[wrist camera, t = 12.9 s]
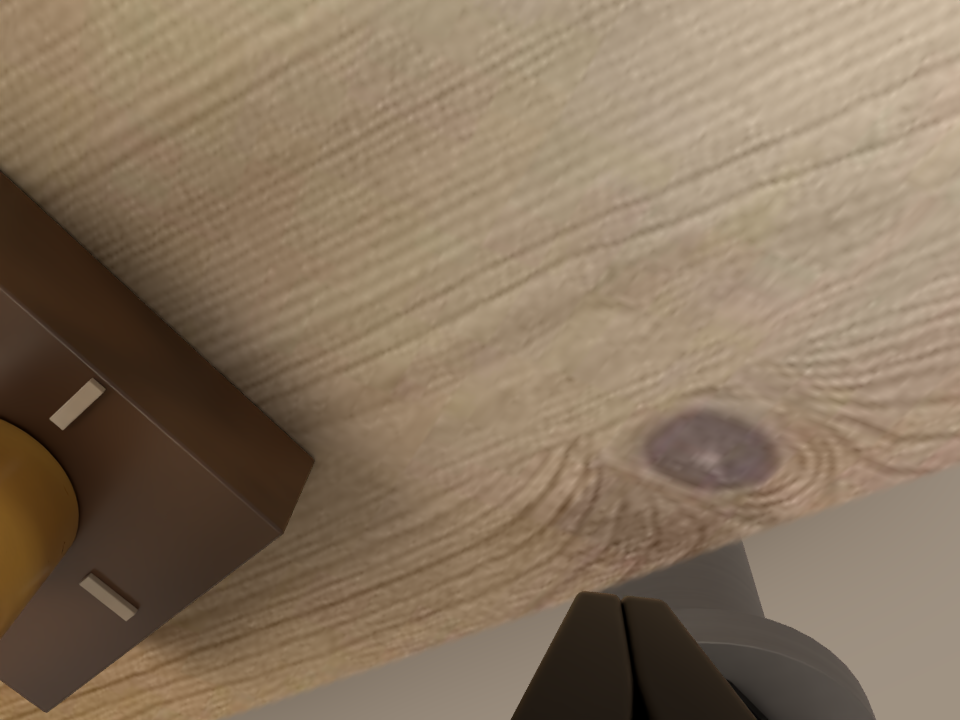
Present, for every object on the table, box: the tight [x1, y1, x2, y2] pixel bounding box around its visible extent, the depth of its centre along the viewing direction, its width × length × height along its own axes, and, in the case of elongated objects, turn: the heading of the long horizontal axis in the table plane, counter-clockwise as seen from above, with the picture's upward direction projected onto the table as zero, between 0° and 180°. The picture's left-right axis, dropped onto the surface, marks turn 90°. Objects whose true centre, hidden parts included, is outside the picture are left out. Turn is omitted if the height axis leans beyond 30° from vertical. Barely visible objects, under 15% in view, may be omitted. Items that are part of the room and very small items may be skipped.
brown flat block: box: [0, 171, 314, 713], centre depth 21 cm, size 10×9×3 cm
